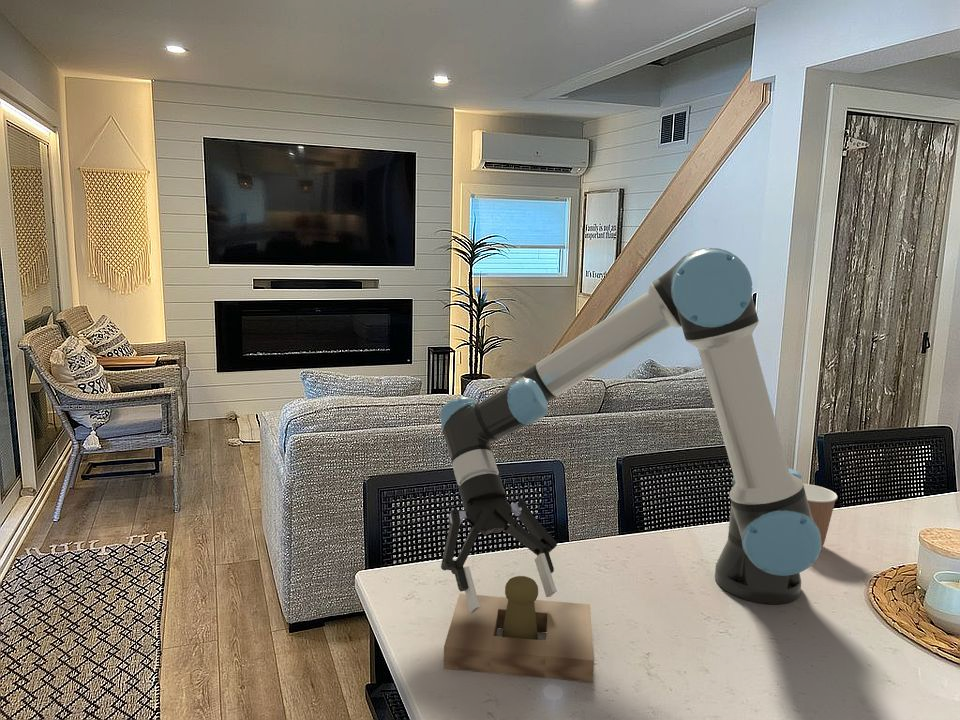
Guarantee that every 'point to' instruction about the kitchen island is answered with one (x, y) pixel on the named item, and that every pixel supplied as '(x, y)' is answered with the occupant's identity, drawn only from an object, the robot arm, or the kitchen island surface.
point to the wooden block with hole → (522, 641)
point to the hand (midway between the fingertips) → (514, 602)
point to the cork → (521, 608)
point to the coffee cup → (820, 507)
